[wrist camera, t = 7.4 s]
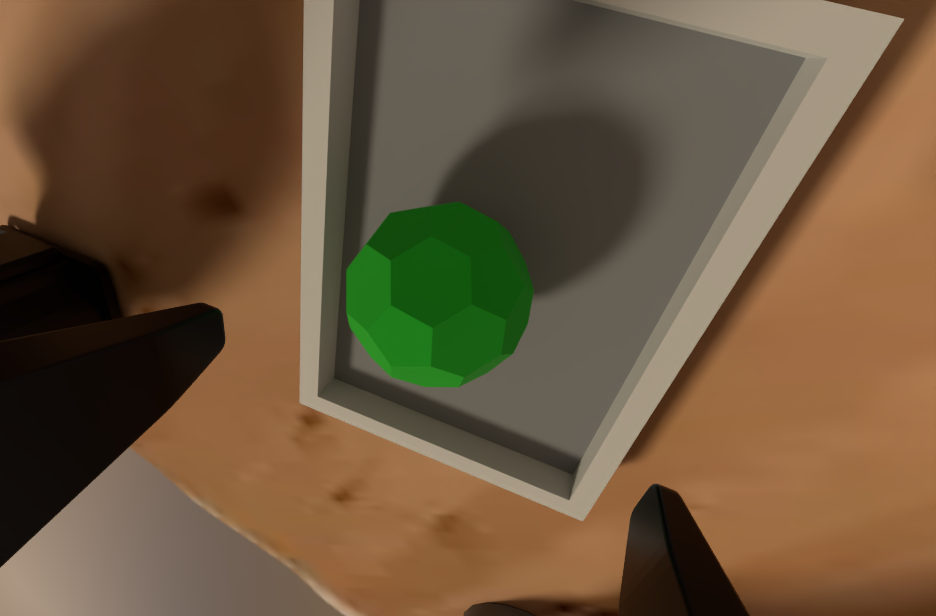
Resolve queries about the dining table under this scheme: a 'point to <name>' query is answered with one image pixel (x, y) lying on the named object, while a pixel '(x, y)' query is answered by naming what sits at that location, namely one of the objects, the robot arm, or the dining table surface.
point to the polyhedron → (439, 295)
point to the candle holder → (494, 610)
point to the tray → (560, 198)
